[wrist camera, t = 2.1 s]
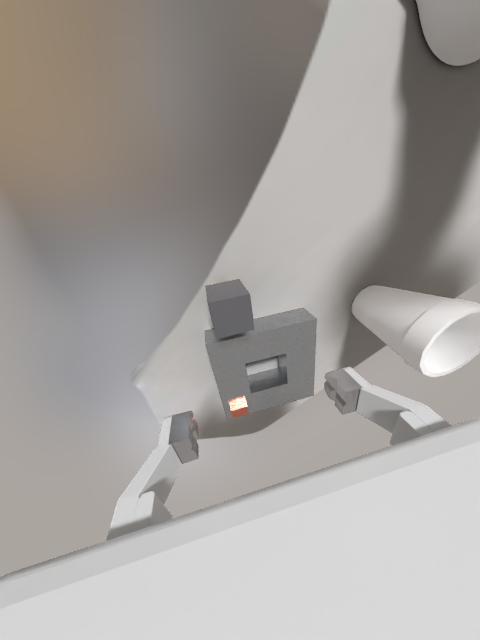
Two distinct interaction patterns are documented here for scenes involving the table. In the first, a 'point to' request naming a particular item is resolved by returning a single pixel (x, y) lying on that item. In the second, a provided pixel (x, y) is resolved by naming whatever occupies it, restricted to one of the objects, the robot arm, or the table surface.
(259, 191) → the table surface
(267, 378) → the socket
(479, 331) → the foam cup
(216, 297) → the plug
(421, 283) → the table surface
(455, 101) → the table surface
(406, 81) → the table surface
